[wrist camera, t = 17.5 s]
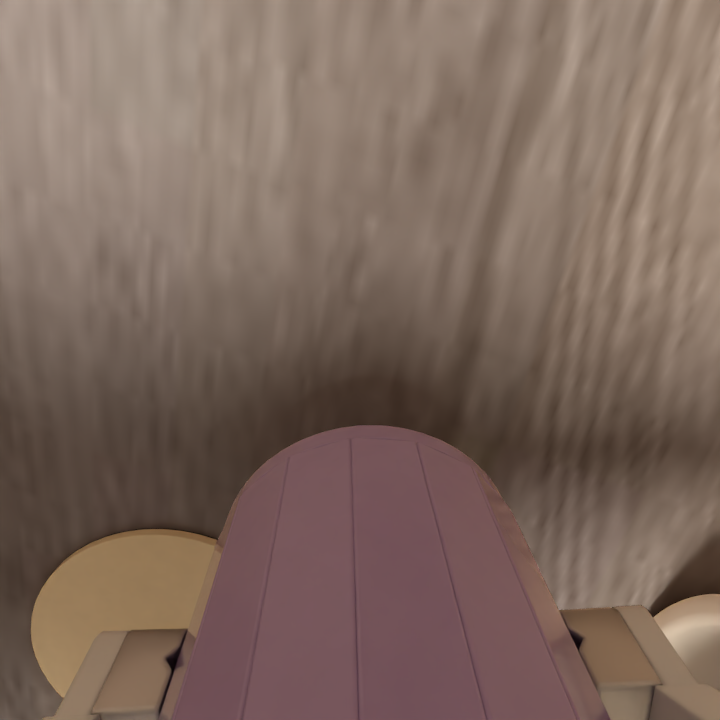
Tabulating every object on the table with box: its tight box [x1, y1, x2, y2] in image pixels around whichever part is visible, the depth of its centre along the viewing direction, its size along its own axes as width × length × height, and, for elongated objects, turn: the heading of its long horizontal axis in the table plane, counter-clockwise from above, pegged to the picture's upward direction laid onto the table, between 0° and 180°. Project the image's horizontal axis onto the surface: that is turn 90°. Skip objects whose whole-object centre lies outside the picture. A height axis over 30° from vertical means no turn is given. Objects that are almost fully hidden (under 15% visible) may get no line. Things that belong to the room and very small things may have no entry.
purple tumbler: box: [158, 425, 611, 720], centre depth 9 cm, size 6×6×7 cm
